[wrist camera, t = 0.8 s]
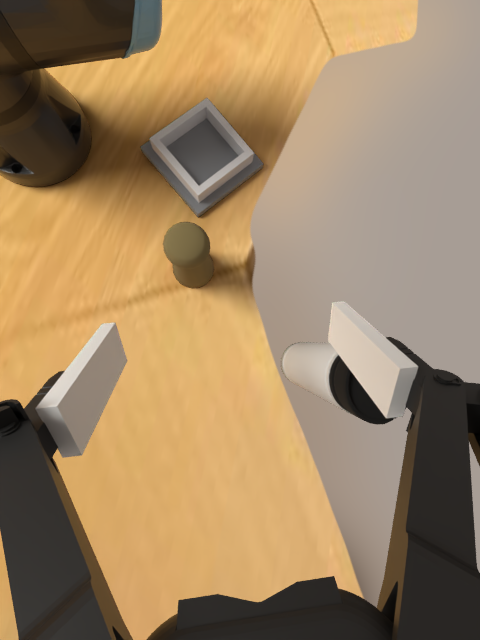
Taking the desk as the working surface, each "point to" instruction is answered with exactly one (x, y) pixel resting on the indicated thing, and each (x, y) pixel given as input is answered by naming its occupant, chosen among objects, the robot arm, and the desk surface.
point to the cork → (189, 254)
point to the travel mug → (329, 379)
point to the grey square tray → (202, 157)
